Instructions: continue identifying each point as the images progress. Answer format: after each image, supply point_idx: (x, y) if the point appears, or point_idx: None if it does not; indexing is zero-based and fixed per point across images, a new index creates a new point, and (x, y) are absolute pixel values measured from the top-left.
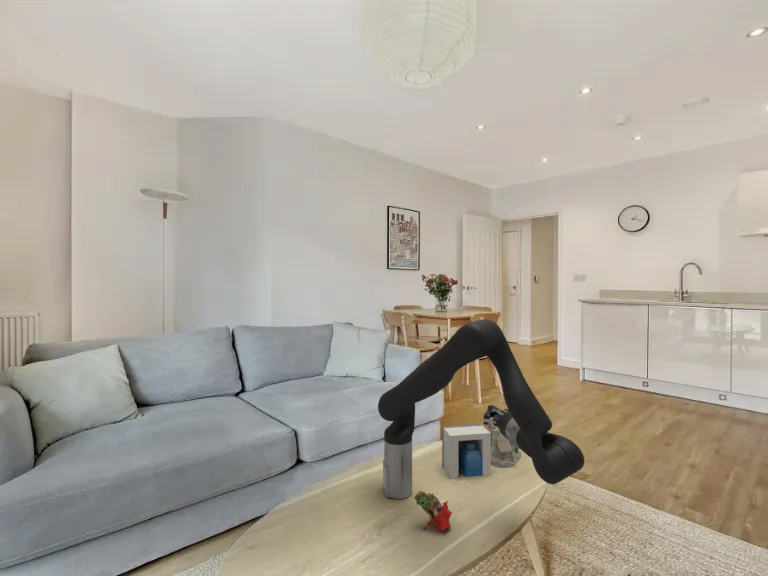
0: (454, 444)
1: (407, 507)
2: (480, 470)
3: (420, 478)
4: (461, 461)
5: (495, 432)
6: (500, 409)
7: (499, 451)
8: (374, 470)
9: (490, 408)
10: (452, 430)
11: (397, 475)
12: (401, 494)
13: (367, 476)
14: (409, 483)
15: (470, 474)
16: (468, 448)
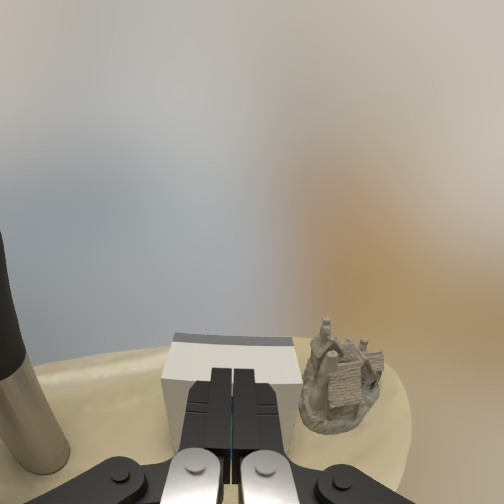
0: (177, 399)
1: (28, 498)
2: None
3: (109, 434)
4: None
5: (330, 360)
6: (273, 478)
7: (328, 403)
8: (49, 382)
9: (201, 411)
10: (188, 355)
11: (2, 436)
12: (28, 467)
13: None
14: (39, 457)
15: (230, 455)
16: (232, 405)
